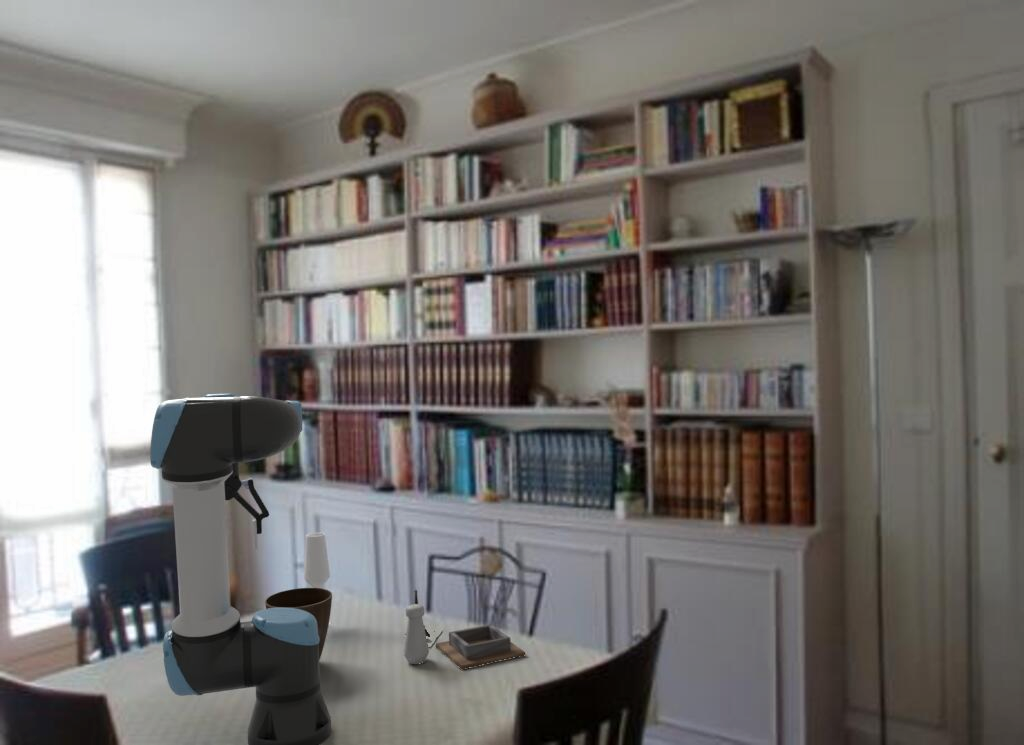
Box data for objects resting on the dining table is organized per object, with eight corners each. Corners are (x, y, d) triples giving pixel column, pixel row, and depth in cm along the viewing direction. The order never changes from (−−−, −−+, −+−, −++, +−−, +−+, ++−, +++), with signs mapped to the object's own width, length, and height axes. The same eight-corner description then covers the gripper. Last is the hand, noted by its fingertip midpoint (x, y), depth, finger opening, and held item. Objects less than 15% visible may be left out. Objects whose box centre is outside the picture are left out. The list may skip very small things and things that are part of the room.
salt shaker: (398, 664, 186) (396, 607, 186) (413, 655, 191) (411, 600, 191) (420, 667, 184) (418, 610, 183) (434, 659, 189) (432, 603, 188)
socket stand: (525, 656, 189) (524, 639, 188) (461, 670, 182) (460, 652, 181) (496, 635, 203) (495, 619, 203) (435, 647, 196) (435, 631, 196)
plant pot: (311, 682, 177) (308, 609, 177) (253, 675, 182) (251, 604, 182) (346, 657, 192) (344, 589, 191) (292, 651, 196) (289, 585, 196)
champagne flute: (324, 618, 220) (321, 530, 220) (336, 624, 215) (332, 534, 214) (301, 624, 216) (297, 534, 215) (312, 630, 211) (309, 538, 210)
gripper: (276, 454, 197) (279, 542, 197) (164, 462, 188) (167, 553, 189) (278, 457, 190) (281, 548, 190) (161, 466, 181) (165, 560, 182)
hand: (224, 551), depth 189 cm, fingers open, 13 cm apart
